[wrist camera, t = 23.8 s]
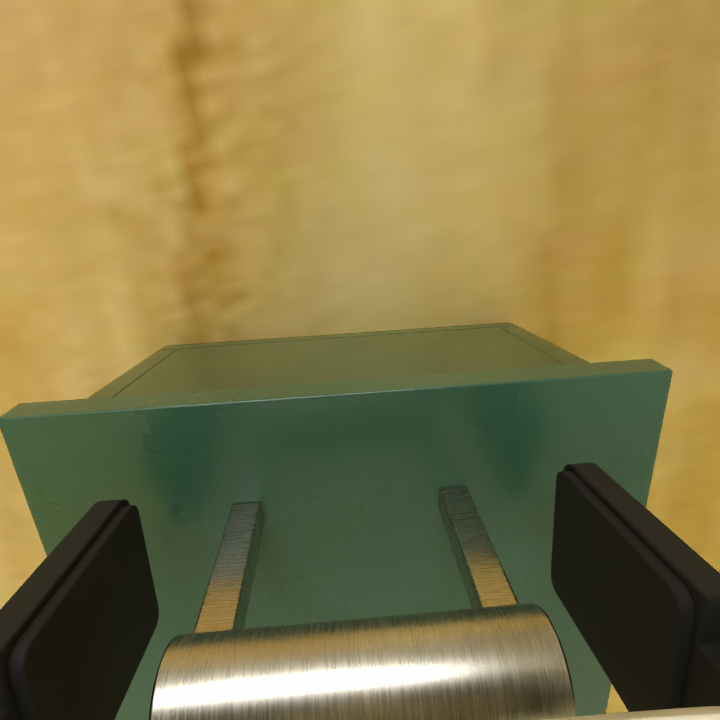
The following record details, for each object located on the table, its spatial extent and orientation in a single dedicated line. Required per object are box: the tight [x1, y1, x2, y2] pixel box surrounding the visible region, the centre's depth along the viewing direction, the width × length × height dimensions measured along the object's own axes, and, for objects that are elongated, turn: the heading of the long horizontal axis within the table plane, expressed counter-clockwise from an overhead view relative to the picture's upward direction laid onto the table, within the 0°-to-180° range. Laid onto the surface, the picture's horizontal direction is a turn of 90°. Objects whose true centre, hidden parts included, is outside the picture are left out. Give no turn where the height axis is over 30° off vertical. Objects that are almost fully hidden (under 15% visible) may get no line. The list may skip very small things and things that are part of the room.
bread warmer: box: [87, 323, 589, 399], centre depth 19 cm, size 16×15×8 cm
